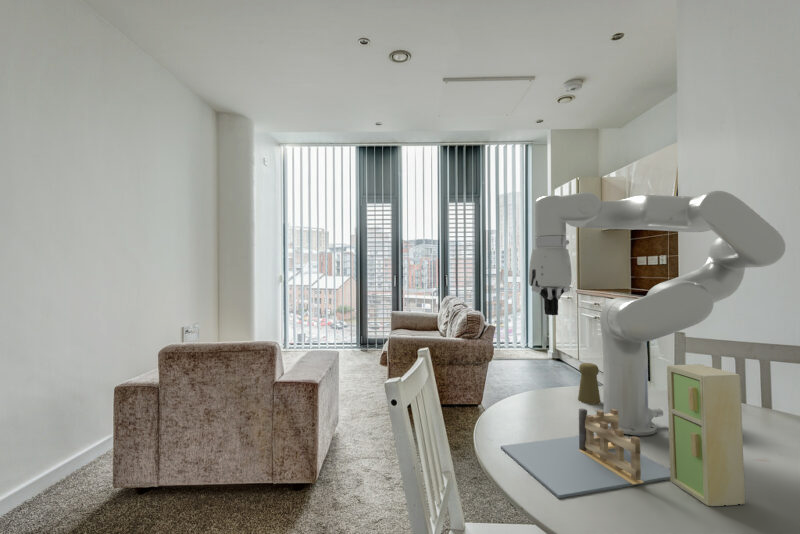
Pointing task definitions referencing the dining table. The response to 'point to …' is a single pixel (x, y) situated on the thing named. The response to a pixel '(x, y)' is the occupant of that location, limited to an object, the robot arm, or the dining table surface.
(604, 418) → the fence fixed
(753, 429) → the dining table surface
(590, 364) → the cork
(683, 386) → the toy refrigerator
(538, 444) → the card
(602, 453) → the fence gate
